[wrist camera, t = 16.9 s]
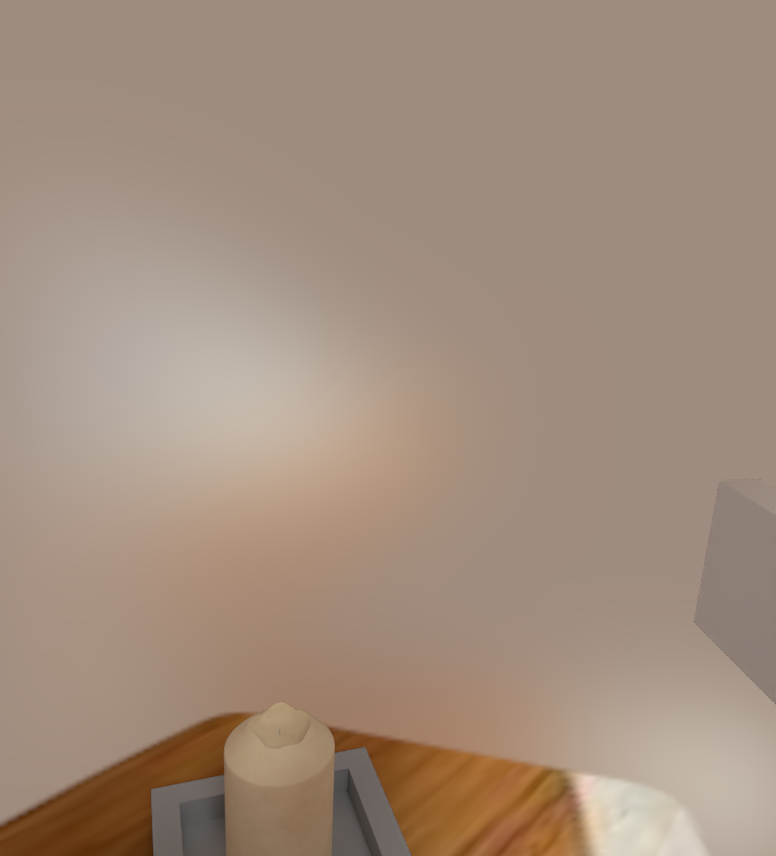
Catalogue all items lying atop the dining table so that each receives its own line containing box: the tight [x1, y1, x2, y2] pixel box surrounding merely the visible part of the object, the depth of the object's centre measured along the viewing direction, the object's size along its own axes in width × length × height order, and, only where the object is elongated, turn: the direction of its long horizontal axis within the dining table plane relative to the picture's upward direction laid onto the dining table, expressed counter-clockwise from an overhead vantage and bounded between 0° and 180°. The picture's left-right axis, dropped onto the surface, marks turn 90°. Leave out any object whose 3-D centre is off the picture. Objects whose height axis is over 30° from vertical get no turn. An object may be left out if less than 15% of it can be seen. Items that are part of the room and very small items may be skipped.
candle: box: [224, 702, 335, 856], centre depth 38 cm, size 6×6×10 cm
